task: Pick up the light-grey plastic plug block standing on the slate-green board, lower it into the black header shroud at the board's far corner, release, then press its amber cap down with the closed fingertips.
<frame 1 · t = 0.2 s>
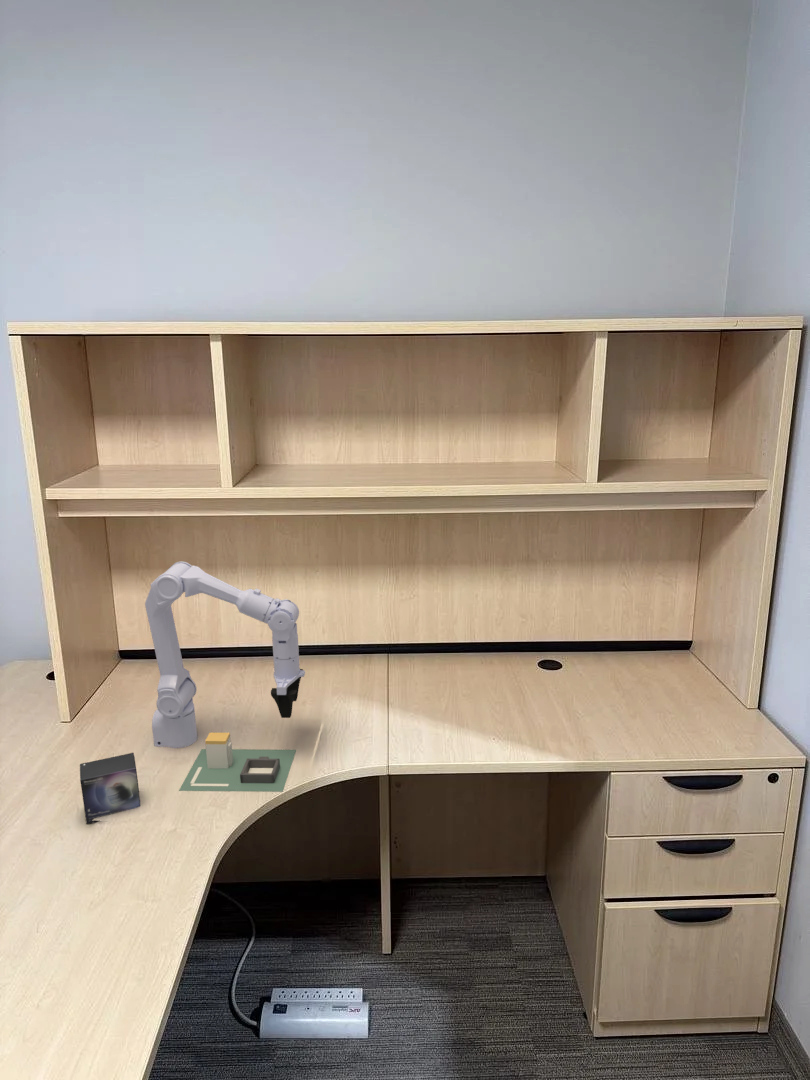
hand: (289, 708, 170), 10 cm above the table, fingers open, 7 cm apart
board: (240, 774, 163), on the table
plug: (220, 763, 165), point 1 cm above the table, touching board
small box: (113, 811, 151), on the table
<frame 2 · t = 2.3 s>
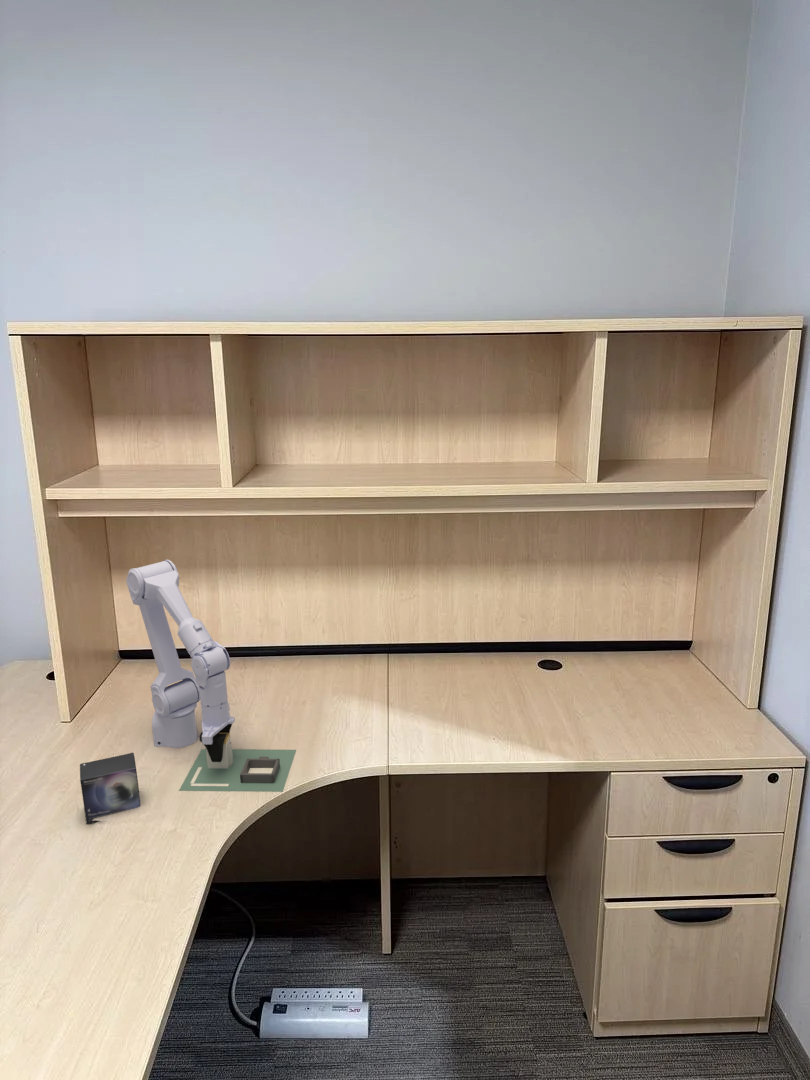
hand: (219, 756, 164), 3 cm above the table, fingers closed on plug, 3 cm apart
plug: (220, 763, 165), point 1 cm above the table, touching board, gripper
everything else where it was.
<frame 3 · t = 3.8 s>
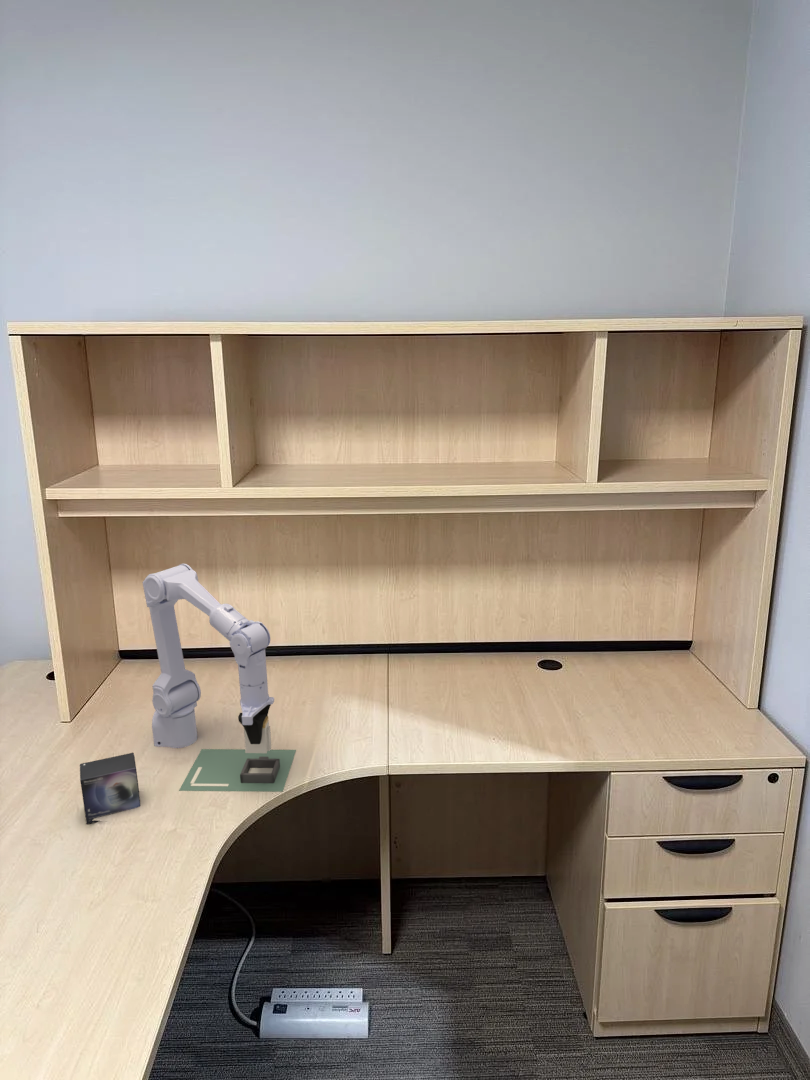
hand: (257, 738, 158), 10 cm above the table, fingers closed on plug, 3 cm apart
plug: (257, 748, 159), point 8 cm above the table, touching gripper
everything else where it was.
when the fingers open (4 cm above the table, at t = 5.2 s): plug stays where it is, resting on board.
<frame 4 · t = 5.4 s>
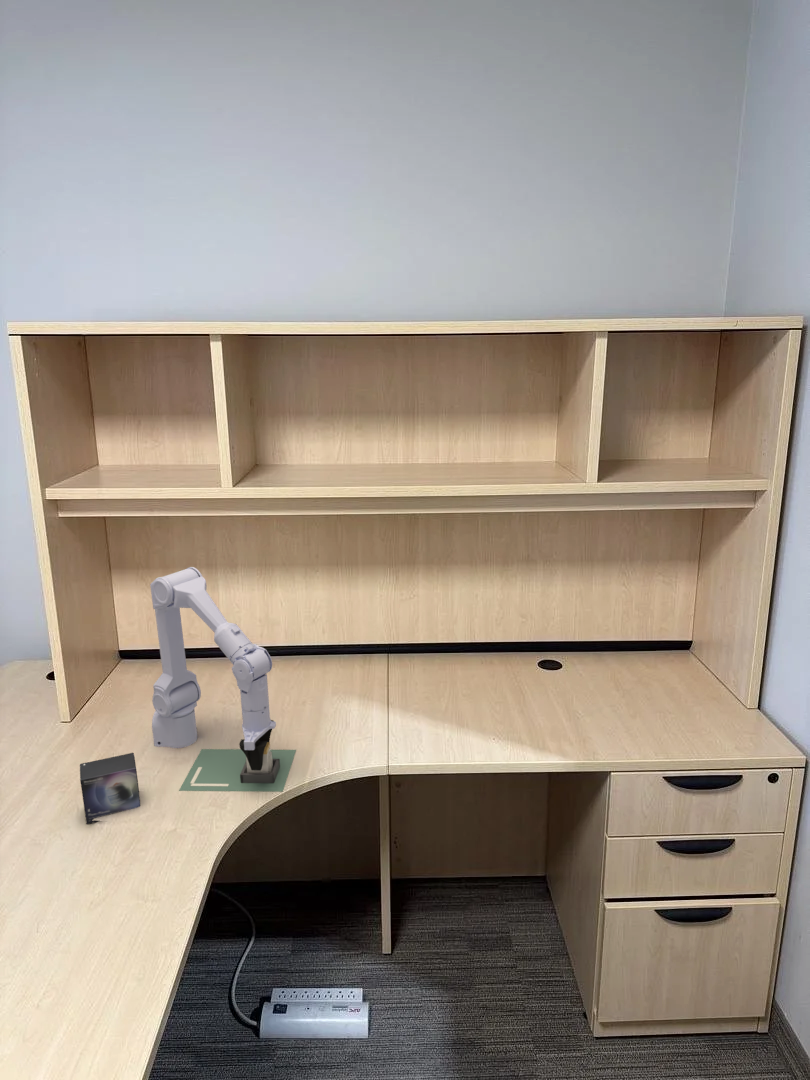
hand: (259, 761, 160), 4 cm above the table, fingers open, 5 cm apart
plug: (259, 774, 160), point 1 cm above the table, touching board
everything else where it was.
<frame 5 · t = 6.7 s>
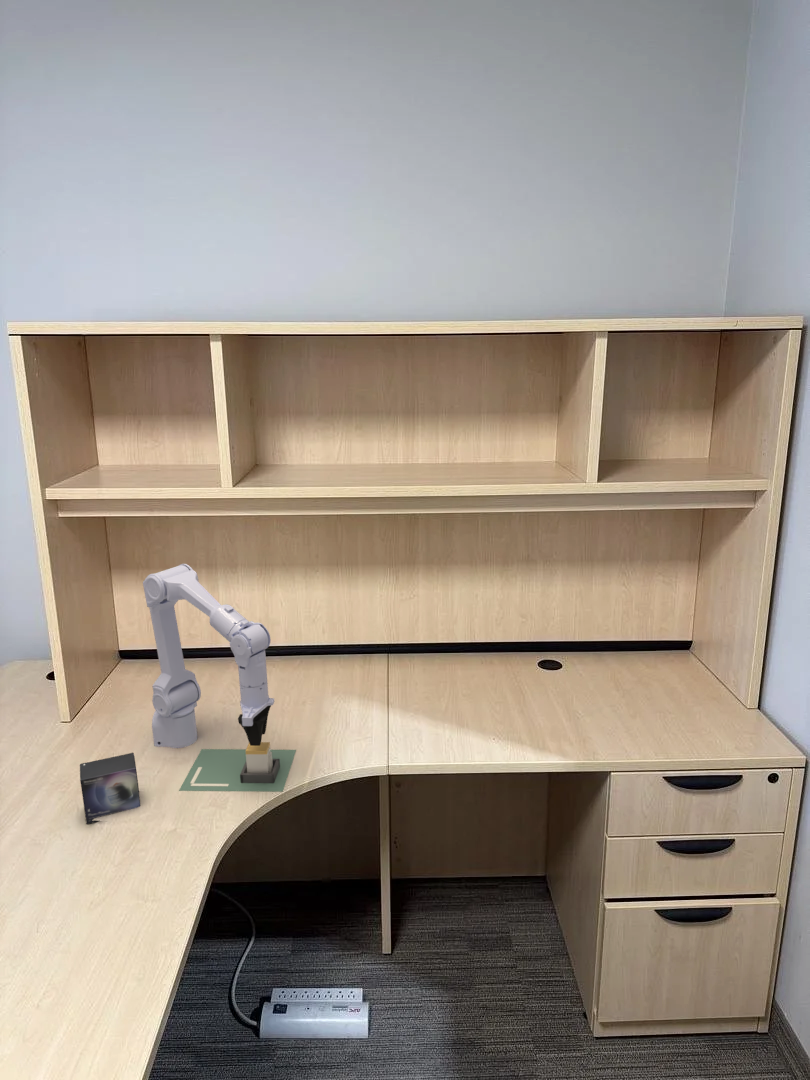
hand: (257, 739, 158), 10 cm above the table, fingers open, 4 cm apart
nothing on the table moved.
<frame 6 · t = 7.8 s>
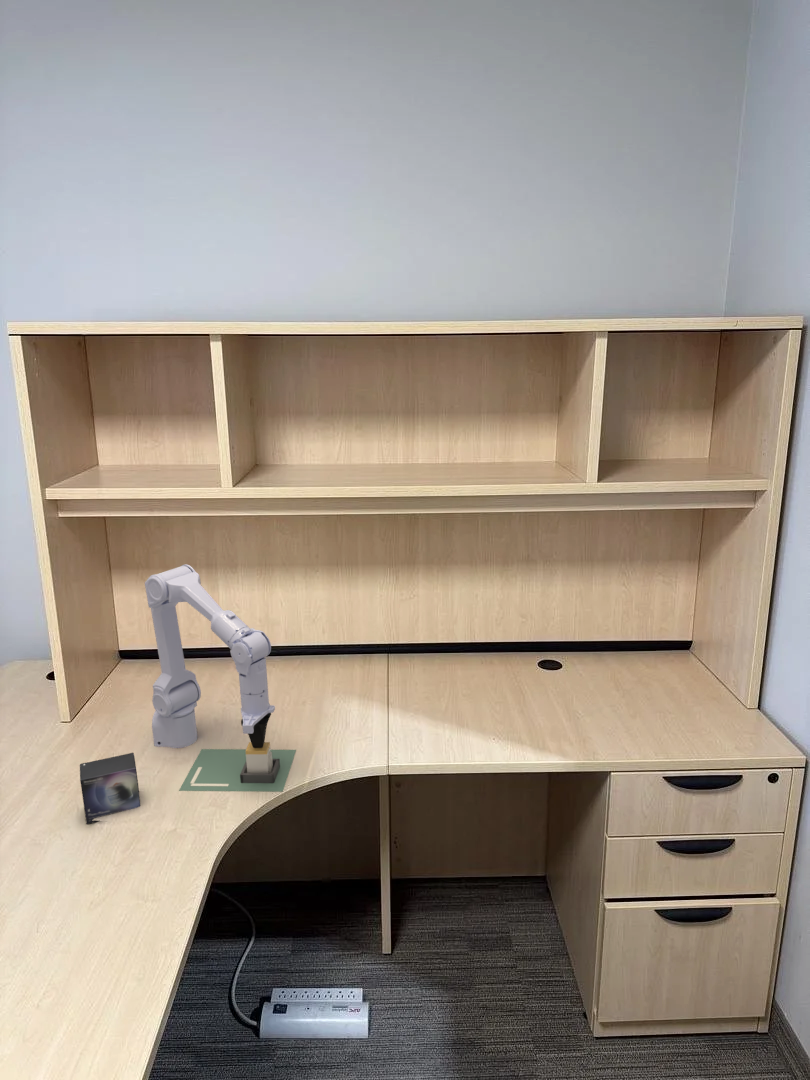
hand: (258, 746, 159), 8 cm above the table, fingers closed
nothing on the table moved.
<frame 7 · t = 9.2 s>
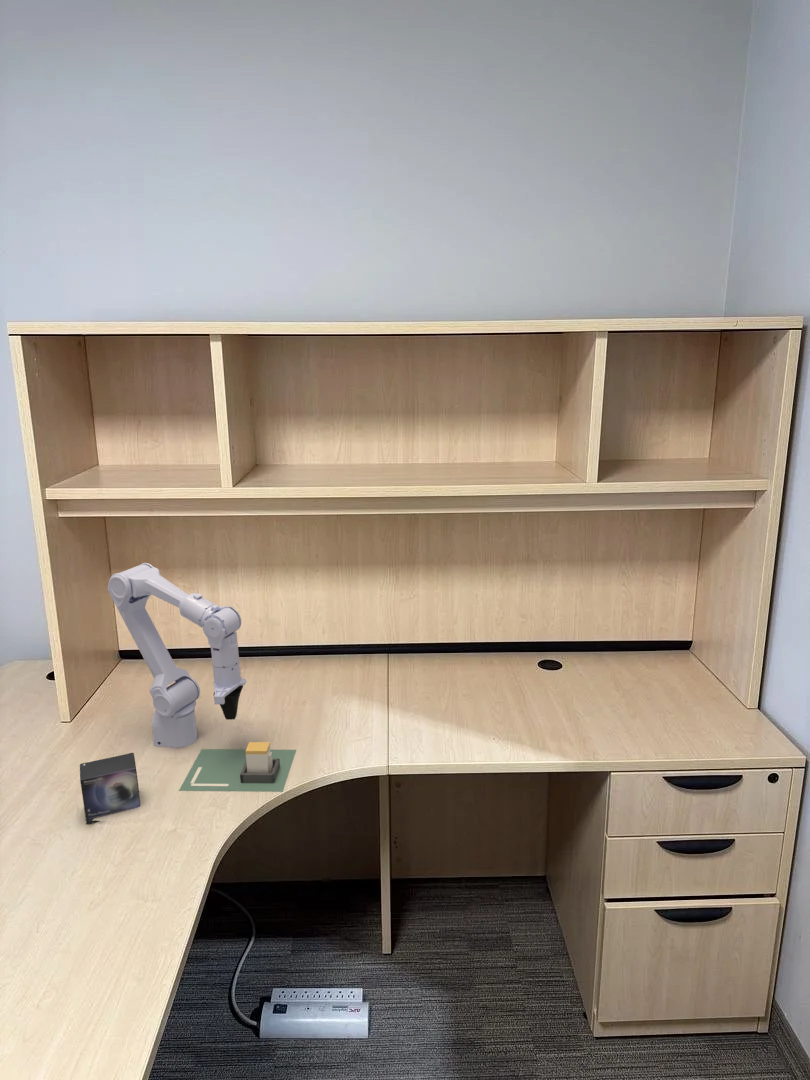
hand: (231, 718, 166), 10 cm above the table, fingers closed
nothing on the table moved.
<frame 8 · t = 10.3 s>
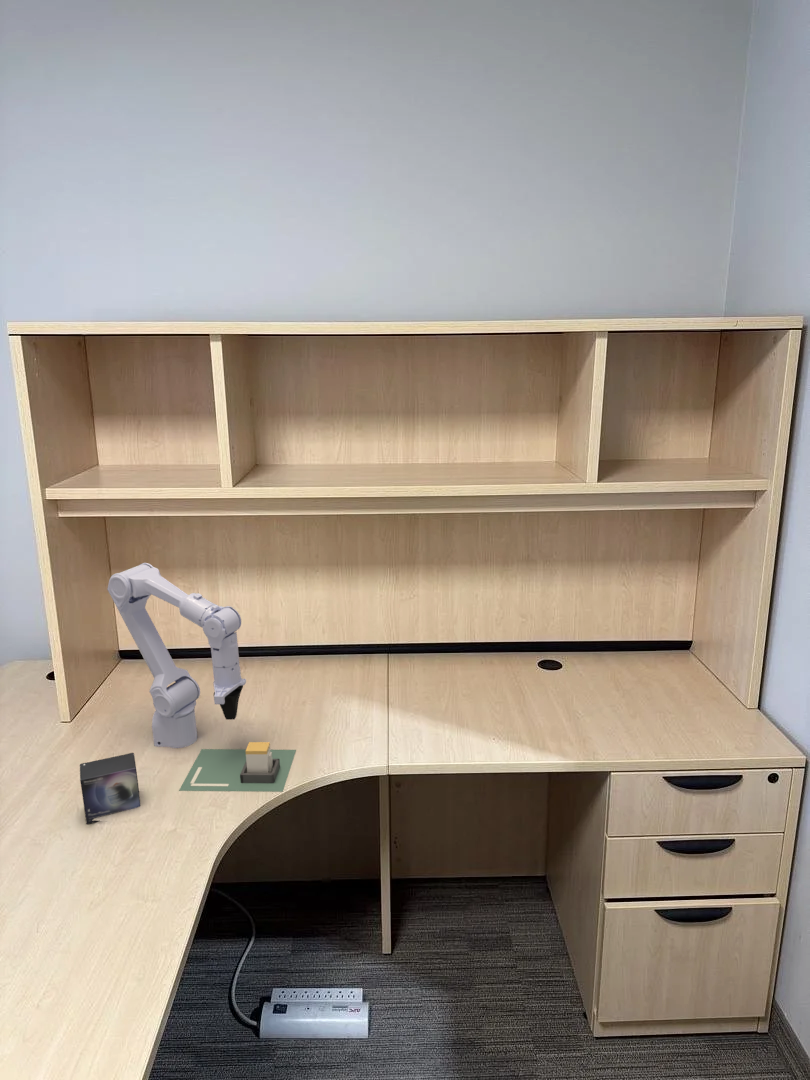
hand: (231, 718, 166), 10 cm above the table, fingers closed
nothing on the table moved.
at the end: plug 0.1 cm from the target spot on the board, point 1.3 cm above the board's base; plug tilted 0°; the gripper is holding nothing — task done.
